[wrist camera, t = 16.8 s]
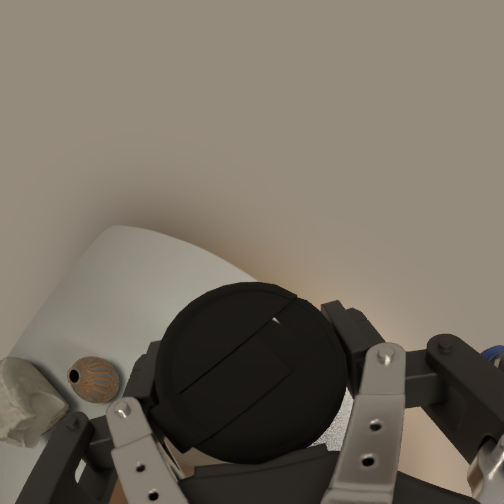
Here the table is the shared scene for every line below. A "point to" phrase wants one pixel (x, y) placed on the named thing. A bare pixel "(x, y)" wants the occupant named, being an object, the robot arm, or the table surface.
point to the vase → (94, 379)
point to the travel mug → (248, 374)
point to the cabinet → (184, 461)
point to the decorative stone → (26, 403)
